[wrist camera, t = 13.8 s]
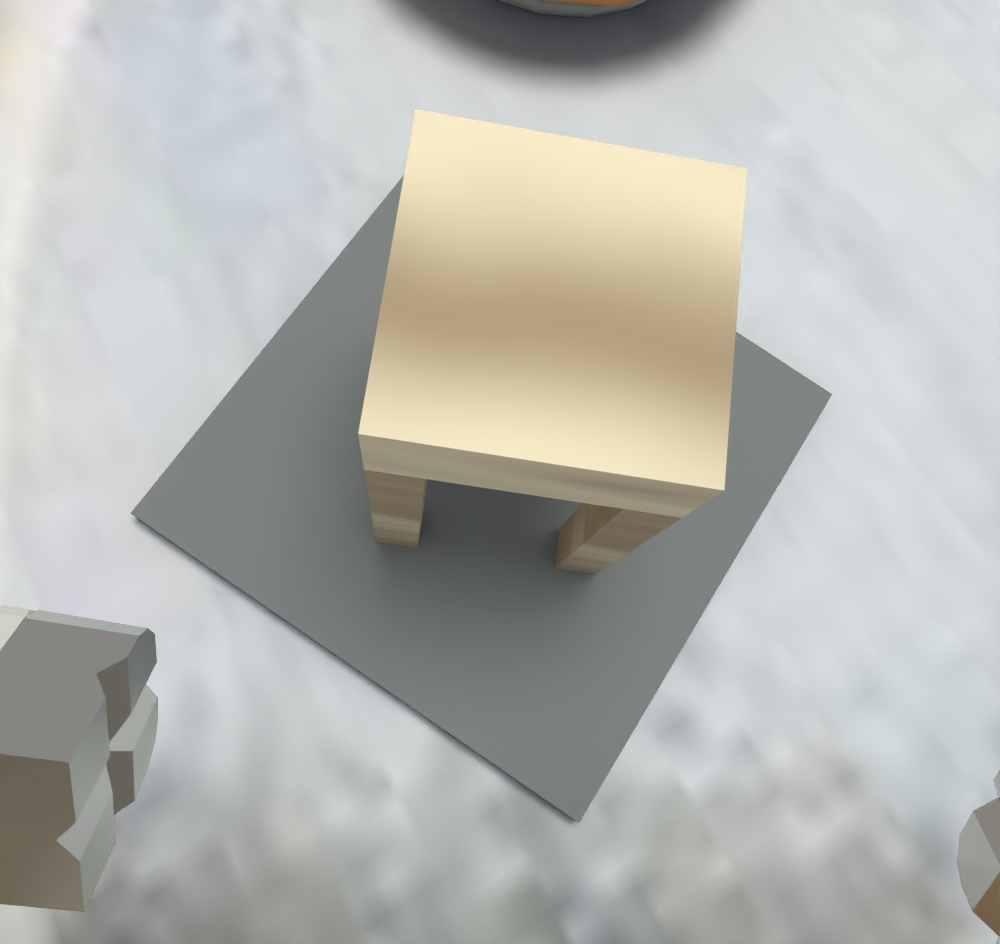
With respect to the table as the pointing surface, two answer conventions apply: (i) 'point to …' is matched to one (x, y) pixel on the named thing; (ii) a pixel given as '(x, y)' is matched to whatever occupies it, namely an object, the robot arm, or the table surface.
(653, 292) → the stool
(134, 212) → the table surface
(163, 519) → the mat
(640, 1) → the pie
